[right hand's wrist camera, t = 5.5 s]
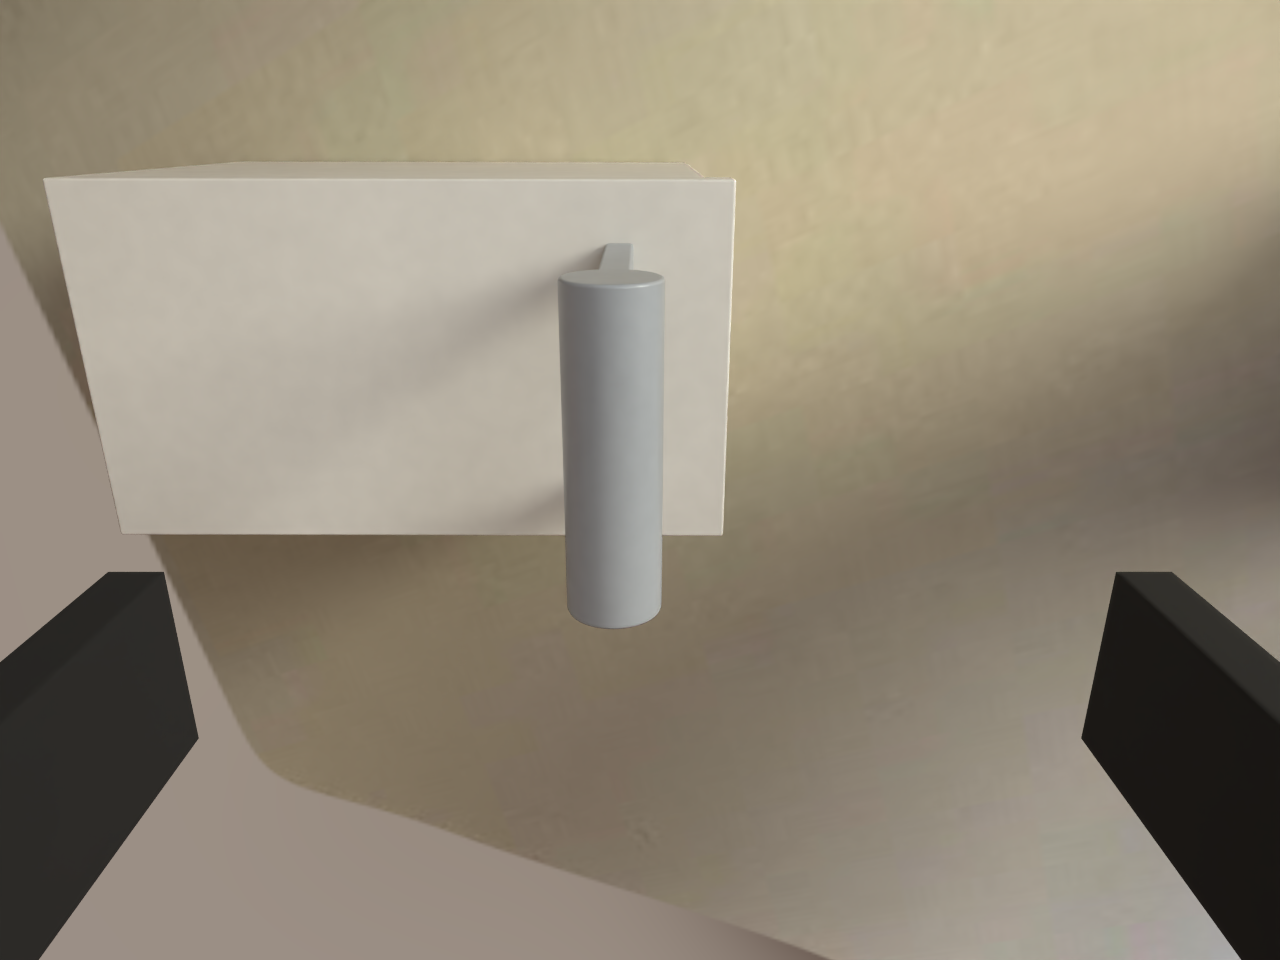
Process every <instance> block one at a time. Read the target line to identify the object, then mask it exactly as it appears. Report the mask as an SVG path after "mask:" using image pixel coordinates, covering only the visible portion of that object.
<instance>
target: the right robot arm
mask: <svg viewBox="0 0 1280 960" xmlns="http://www.w3.org/2000/svg"><path fill="white" fill-rule="evenodd" d="M197 740H198V733H197V728H196V723H195V719H194V714H193V709H192V704H191V700H190V695H189V690H188V685H187V680H186V676H185V671H184V666H183V661H182V656H181V652H180V647H179V642H178V637H177V633H176V628H175V623H174V618H173V614H172V609H171V604H170V599H169V594H168V590H167V585H166V580H165V575H164V572H108V573H107V574H105V575H104V576H103V577H102V578H100V579H99V580H98V581H97V582H96V583H95V584H93V585H92V586H91V587H90V588H89V589H87V590H86V591H85V592H84V593H83V594H81V595H80V596H79V597H78V598H77V599H75V600H74V601H73V602H72V603H71V604H69V605H68V606H67V607H66V608H65V609H63V610H62V611H61V612H60V613H59V614H57V615H56V616H55V617H54V618H53V619H52V620H50V621H49V622H48V623H47V624H45V625H44V626H43V627H42V628H41V629H40V630H38V631H37V632H36V633H35V634H34V635H32V636H31V637H30V638H29V639H28V640H26V641H25V642H24V643H23V644H22V645H20V646H19V647H18V648H17V649H16V650H14V651H13V652H12V653H11V654H10V655H8V656H7V657H6V658H5V659H4V660H2V661H1V662H0V960H39V958H40V957H41V956H42V954H43V953H44V952H45V950H46V949H47V947H48V946H49V945H50V943H51V942H52V941H53V939H54V938H55V936H56V935H57V933H58V932H59V931H60V929H61V928H62V927H63V925H64V924H65V923H66V921H67V920H68V918H69V917H70V916H71V914H72V913H73V911H74V910H75V909H76V907H77V906H78V905H79V903H80V902H81V900H82V899H83V898H84V896H85V895H86V893H87V892H88V891H89V889H90V888H91V886H92V885H93V884H94V882H95V881H96V880H97V878H98V877H99V875H100V874H101V873H102V871H103V870H104V868H105V867H106V866H107V864H108V863H109V862H110V860H111V859H112V857H113V856H114V855H115V853H116V852H117V851H118V849H119V848H120V846H121V845H122V844H123V842H124V841H125V839H126V838H127V837H128V835H129V834H130V833H131V831H132V830H133V828H134V827H135V826H136V824H137V823H138V821H139V820H140V819H141V817H142V816H143V815H144V813H145V812H146V810H147V809H148V808H149V806H150V805H151V803H152V802H153V801H154V799H155V798H156V797H157V795H158V794H159V792H160V791H161V790H162V788H163V787H164V785H165V784H166V783H167V781H168V780H169V779H170V777H171V776H172V774H173V773H174V772H175V770H176V769H177V767H178V766H179V765H180V763H181V762H182V761H183V759H184V758H185V756H186V755H187V754H188V752H189V751H190V750H191V748H192V747H193V745H194V744H195V742H196V741H197ZM1082 740H1083V741H1084V743H1085V744H1086V745H1087V747H1088V748H1089V750H1090V751H1091V752H1092V754H1093V755H1094V756H1095V758H1096V759H1097V761H1098V762H1099V763H1100V765H1101V766H1102V768H1103V769H1104V770H1105V772H1106V773H1107V774H1108V776H1109V777H1110V779H1111V780H1112V781H1113V783H1114V784H1115V786H1116V787H1117V788H1118V790H1119V791H1120V792H1121V794H1122V795H1123V797H1124V798H1125V799H1126V801H1127V802H1128V804H1129V805H1130V806H1131V808H1132V809H1133V810H1134V812H1135V813H1136V815H1137V816H1138V817H1139V819H1140V820H1141V822H1142V823H1143V824H1144V826H1145V827H1146V828H1147V830H1148V831H1149V833H1150V834H1151V835H1152V837H1153V838H1154V839H1155V841H1156V842H1157V844H1158V845H1159V846H1160V848H1161V849H1162V851H1163V852H1164V853H1165V855H1166V856H1167V857H1168V859H1169V860H1170V862H1171V863H1172V864H1173V866H1174V867H1175V869H1176V870H1177V871H1178V873H1179V874H1180V875H1181V877H1182V878H1183V880H1184V881H1185V882H1186V884H1187V885H1188V887H1189V888H1190V889H1191V891H1192V892H1193V893H1194V895H1195V896H1196V898H1197V899H1198V900H1199V902H1200V903H1201V905H1202V906H1203V907H1204V909H1205V910H1206V911H1207V913H1208V914H1209V916H1210V917H1211V918H1212V920H1213V921H1214V923H1215V924H1216V925H1217V927H1218V928H1219V929H1220V931H1221V932H1222V934H1223V935H1224V936H1225V938H1226V939H1227V941H1228V942H1229V943H1230V945H1231V946H1232V947H1233V949H1234V950H1235V952H1236V953H1237V954H1238V956H1239V957H1240V959H1241V960H1280V662H1279V661H1278V660H1276V659H1275V658H1274V657H1273V656H1272V655H1270V654H1269V653H1268V652H1267V651H1266V650H1264V649H1263V648H1262V647H1261V646H1260V645H1258V644H1257V643H1256V642H1255V641H1254V640H1252V639H1251V638H1250V637H1249V636H1248V635H1246V634H1245V633H1244V632H1243V631H1242V630H1240V629H1239V628H1238V627H1237V626H1236V625H1235V624H1233V623H1232V622H1231V621H1230V620H1229V619H1227V618H1226V617H1225V616H1224V615H1223V614H1221V613H1220V612H1219V611H1218V610H1217V609H1215V608H1214V607H1213V606H1212V605H1211V604H1209V603H1208V602H1207V601H1206V600H1205V599H1203V598H1202V597H1201V596H1200V595H1199V594H1197V593H1196V592H1195V591H1194V590H1193V589H1191V588H1190V587H1189V586H1188V585H1187V584H1185V583H1184V582H1183V581H1182V580H1181V579H1180V578H1178V577H1177V576H1176V575H1175V574H1174V573H1172V572H1116V575H1115V580H1114V585H1113V590H1112V594H1111V599H1110V604H1109V609H1108V613H1107V618H1106V623H1105V628H1104V633H1103V637H1102V642H1101V647H1100V652H1099V656H1098V661H1097V666H1096V671H1095V676H1094V680H1093V685H1092V690H1091V695H1090V699H1089V704H1088V709H1087V714H1086V719H1085V723H1084V728H1083V733H1082Z"/></svg>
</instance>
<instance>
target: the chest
mask: <svg viewBox="0 0 1280 960" xmlns="http://www.w3.org/2000/svg"><path fill="white" fill-rule="evenodd" d="M75 176H312V177H703V176H702V175H701V174H700V173H698V172H697V171H696V170H694V169H693V168H692V167H691V166H689V165H688V164H687V163H685V162H231V163H219V164H207V165H195V166H183V167H171V168H159V169H147V170H135V171H123V172H111V173H99V174H87V175H75Z"/></svg>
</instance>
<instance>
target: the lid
mask: <svg viewBox="0 0 1280 960" xmlns="http://www.w3.org/2000/svg"><path fill="white" fill-rule="evenodd" d="M43 183H44V188H45V192H46V197H47V201H48V206H49V210H50V215H51V219H52V224H53V228H54V233H55V237H56V242H57V246H58V251H59V255H60V260H61V264H62V269H63V273H64V278H65V282H66V287H67V291H68V296H69V300H70V305H71V310H72V314H73V319H74V323H75V328H76V332H77V337H78V341H79V346H80V350H81V355H82V359H83V364H84V368H85V373H86V377H87V382H88V386H89V391H90V395H91V400H92V404H93V409H94V413H95V418H96V422H97V427H98V431H99V436H100V440H101V445H102V449H103V454H104V458H105V463H106V467H107V472H108V476H109V481H110V485H111V490H112V494H113V499H114V503H115V508H116V512H117V517H118V521H119V526H120V530H121V534H170V535H565V546H566V579H567V607H568V610H569V612H570V614H571V615H572V616H573V617H574V618H575V619H576V620H578V621H579V622H581V623H584V624H586V625H589V626H593V627H597V628H604V629H622V628H630V627H634V626H638V625H641V624H644V623H646V622H648V621H650V620H651V619H653V618H654V617H655V616H656V615H657V614H658V612H659V610H660V608H661V599H662V536H721V535H722V534H723V517H724V491H725V464H726V437H727V411H728V384H729V358H730V331H731V304H732V278H733V251H734V224H735V198H736V180H734V179H733V178H731V177H312V176H63V177H51V178H44V179H43Z"/></svg>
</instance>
